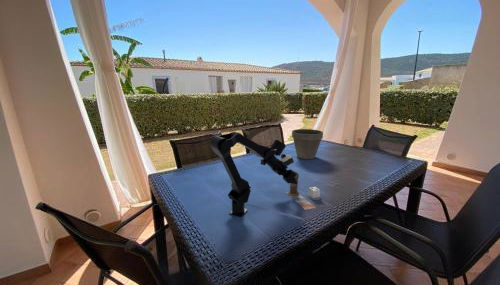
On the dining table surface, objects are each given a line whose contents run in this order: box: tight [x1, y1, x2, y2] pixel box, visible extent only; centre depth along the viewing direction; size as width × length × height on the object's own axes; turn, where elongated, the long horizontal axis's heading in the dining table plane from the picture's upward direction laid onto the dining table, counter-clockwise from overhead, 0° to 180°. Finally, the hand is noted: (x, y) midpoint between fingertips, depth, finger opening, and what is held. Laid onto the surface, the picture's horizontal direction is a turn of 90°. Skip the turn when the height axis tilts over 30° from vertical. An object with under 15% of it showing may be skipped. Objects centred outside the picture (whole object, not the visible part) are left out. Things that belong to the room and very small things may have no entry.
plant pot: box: [291, 128, 324, 160], centre depth 182 cm, size 25×25×22 cm
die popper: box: [306, 186, 322, 201], centre depth 116 cm, size 7×7×5 cm
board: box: [285, 191, 316, 211], centre depth 114 cm, size 20×9×1 cm, turn 19°
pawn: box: [287, 171, 300, 197], centre depth 119 cm, size 6×6×13 cm
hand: (292, 180), depth 118 cm, fingers open, 9 cm apart
